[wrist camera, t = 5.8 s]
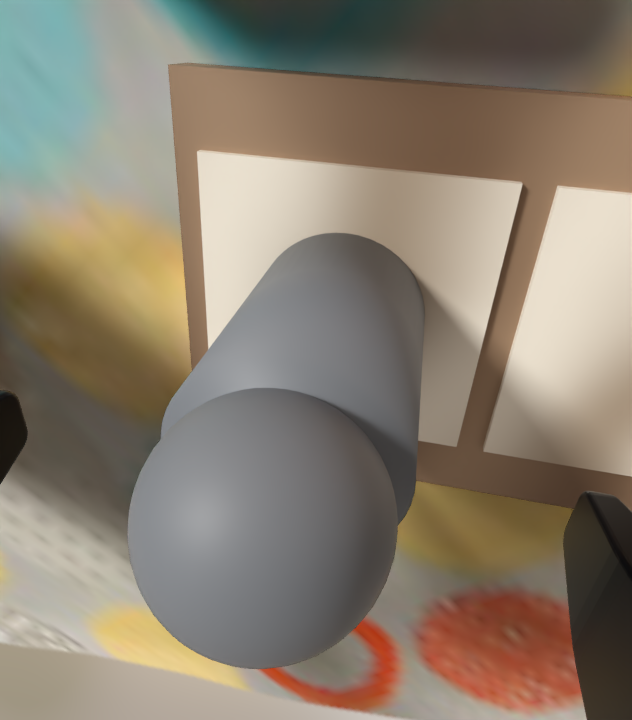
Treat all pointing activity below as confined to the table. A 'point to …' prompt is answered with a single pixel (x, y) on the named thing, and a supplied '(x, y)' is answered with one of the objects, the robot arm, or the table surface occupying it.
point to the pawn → (287, 460)
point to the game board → (439, 249)
